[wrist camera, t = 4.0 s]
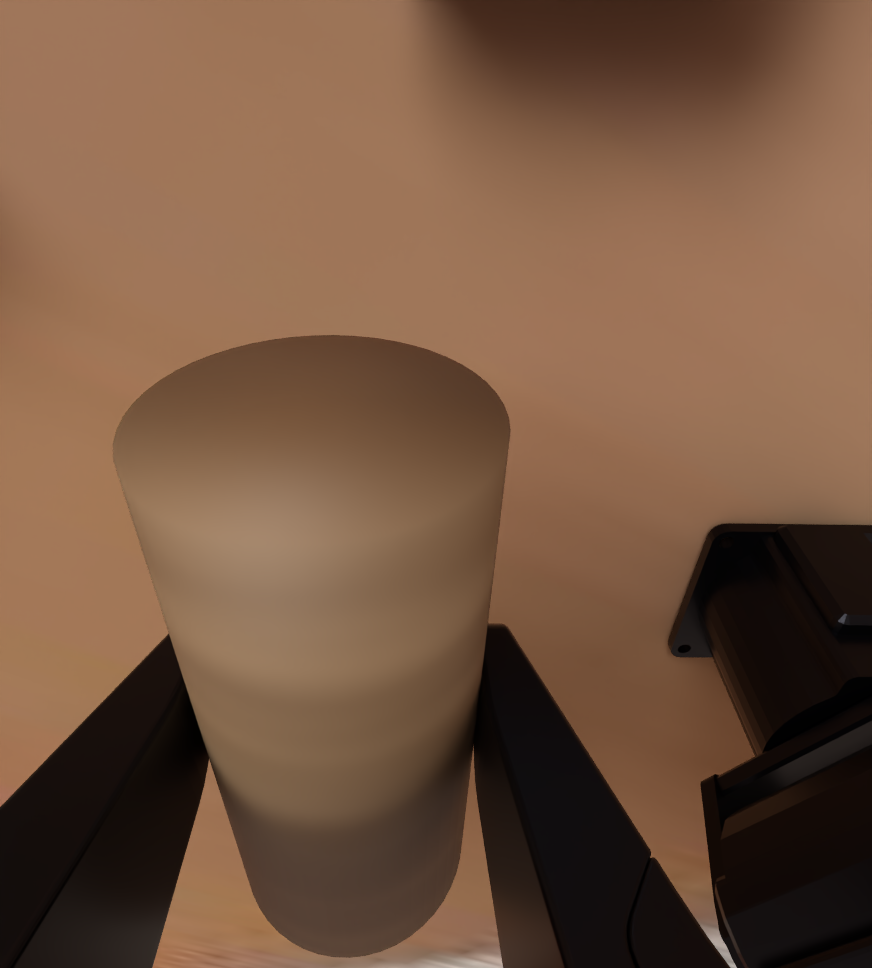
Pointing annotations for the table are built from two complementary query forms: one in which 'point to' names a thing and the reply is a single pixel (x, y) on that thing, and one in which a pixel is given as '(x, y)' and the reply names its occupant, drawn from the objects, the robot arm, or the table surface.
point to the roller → (327, 610)
